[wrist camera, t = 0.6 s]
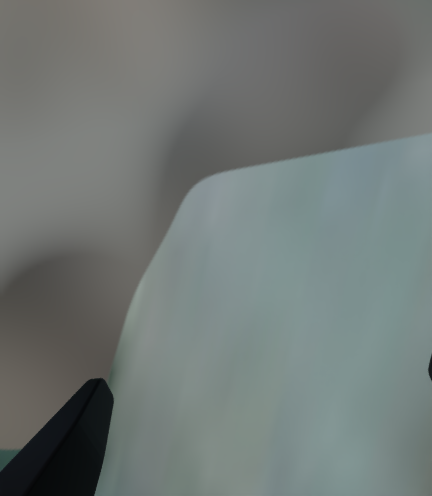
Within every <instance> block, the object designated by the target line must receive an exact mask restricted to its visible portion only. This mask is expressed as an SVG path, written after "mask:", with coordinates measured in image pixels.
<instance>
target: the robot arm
mask: <svg viewBox="0 0 432 496" xmlns="http://www.w3.org/2000/svg"><path fill="white" fill-rule="evenodd" d="M428 372H429V376H430V378H431V380H432V355H431V359H430V363H429V367H428ZM113 404H114V398H113V394H112V392H111V390H110V389H109V387H108V385H107V383H106V381H105V380H104V379H103V378H95V379H90V380H88V381H87V382H86V383H85V384H84V385H83V386H82V387H81V388H80V389H79V390H78V391H77V392H76V393H75V394H74V395H73V396H72V397H71V399H70V400H68V402H67V403H66V404H65V405H64V406H63V407H62V408H61V409H60V410H59V411H58V412H57V413H56V414H55V415H54V416H53V417H52V418H51V419H50V420H49V421H48V422H47V423H46V425H45V426H44V427H43V428H42V429H41V430H40V431H39V432H38V433H37V434H36V435H35V436H34V437H33V438H32V439H31V440H30V441H29V443H27V444H26V445H25V446H24V447H23V449H22V450H21V451H20V452H19V453H18V454H17V455H16V456H15V457H14V458H13V459H12V460H11V461H10V462H9V463H8V464H7V465H6V466H5V467H4V468H3V469H2V470H1V472H0V496H94V494H95V491H96V487H97V483H98V480H99V476H100V472H101V469H102V464H103V460H104V455H105V450H106V445H107V439H108V433H109V427H110V421H111V416H112V410H113Z"/></svg>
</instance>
